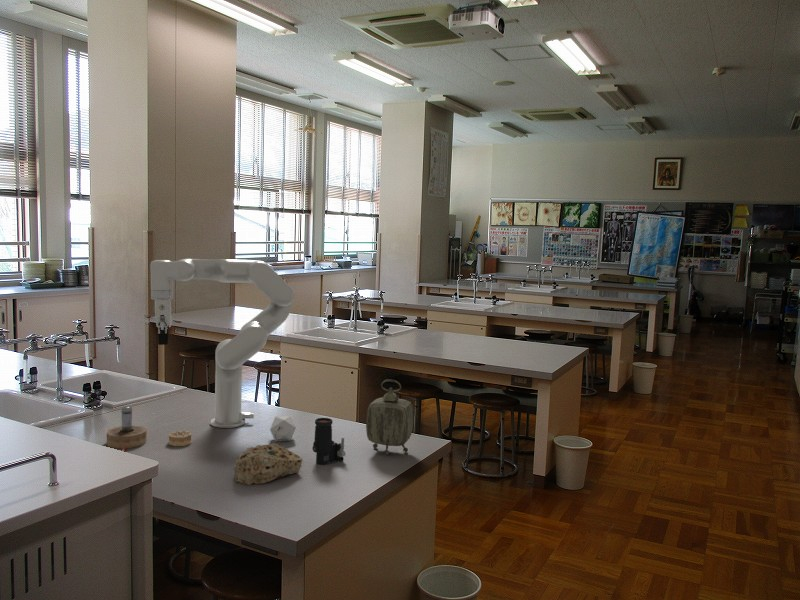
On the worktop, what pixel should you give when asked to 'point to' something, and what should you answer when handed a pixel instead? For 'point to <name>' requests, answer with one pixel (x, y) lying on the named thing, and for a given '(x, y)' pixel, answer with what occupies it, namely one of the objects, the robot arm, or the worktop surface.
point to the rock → (265, 464)
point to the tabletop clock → (389, 420)
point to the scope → (326, 443)
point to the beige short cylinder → (179, 438)
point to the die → (282, 428)
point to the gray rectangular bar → (126, 419)
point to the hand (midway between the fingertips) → (163, 342)
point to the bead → (126, 437)
